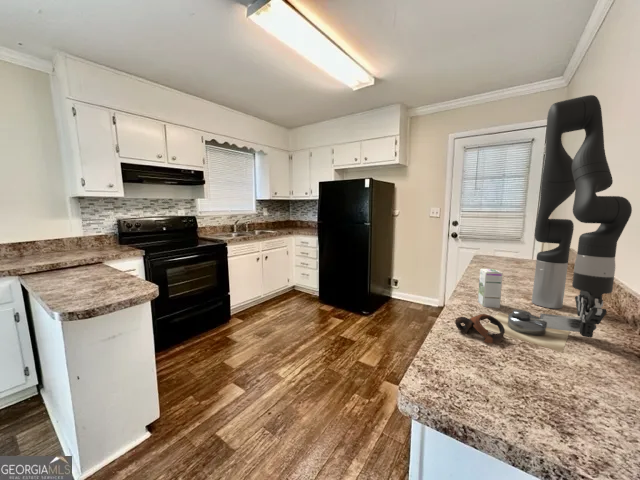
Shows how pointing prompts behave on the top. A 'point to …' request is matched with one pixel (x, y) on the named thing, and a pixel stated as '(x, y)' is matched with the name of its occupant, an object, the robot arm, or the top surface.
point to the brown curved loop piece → (481, 327)
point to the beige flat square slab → (550, 340)
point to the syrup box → (490, 288)
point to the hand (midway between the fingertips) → (585, 335)
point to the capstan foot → (541, 322)
